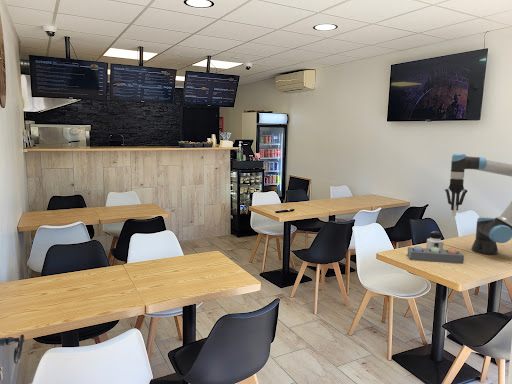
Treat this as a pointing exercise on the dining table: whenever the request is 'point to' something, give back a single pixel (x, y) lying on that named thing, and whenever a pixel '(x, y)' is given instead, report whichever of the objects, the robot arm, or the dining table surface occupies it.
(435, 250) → the sage button
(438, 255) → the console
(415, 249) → the slate button
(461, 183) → the robot arm
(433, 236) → the container
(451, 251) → the terracotta button
